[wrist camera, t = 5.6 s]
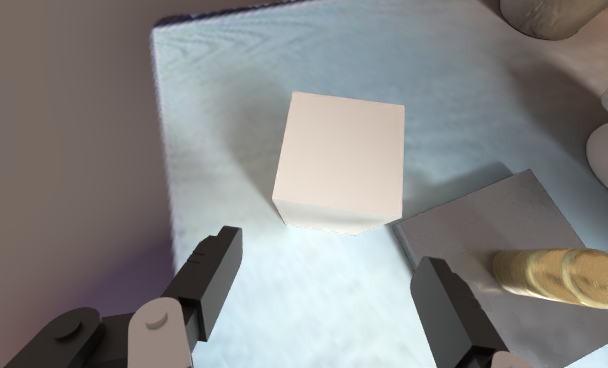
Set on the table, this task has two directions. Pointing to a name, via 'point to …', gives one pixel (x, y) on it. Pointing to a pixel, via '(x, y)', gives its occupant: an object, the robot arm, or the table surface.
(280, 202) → the white rectangular block
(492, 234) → the base plate
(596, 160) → the mug
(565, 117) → the table surface
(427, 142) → the table surface
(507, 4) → the pillar candle
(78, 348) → the robot arm
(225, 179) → the table surface
